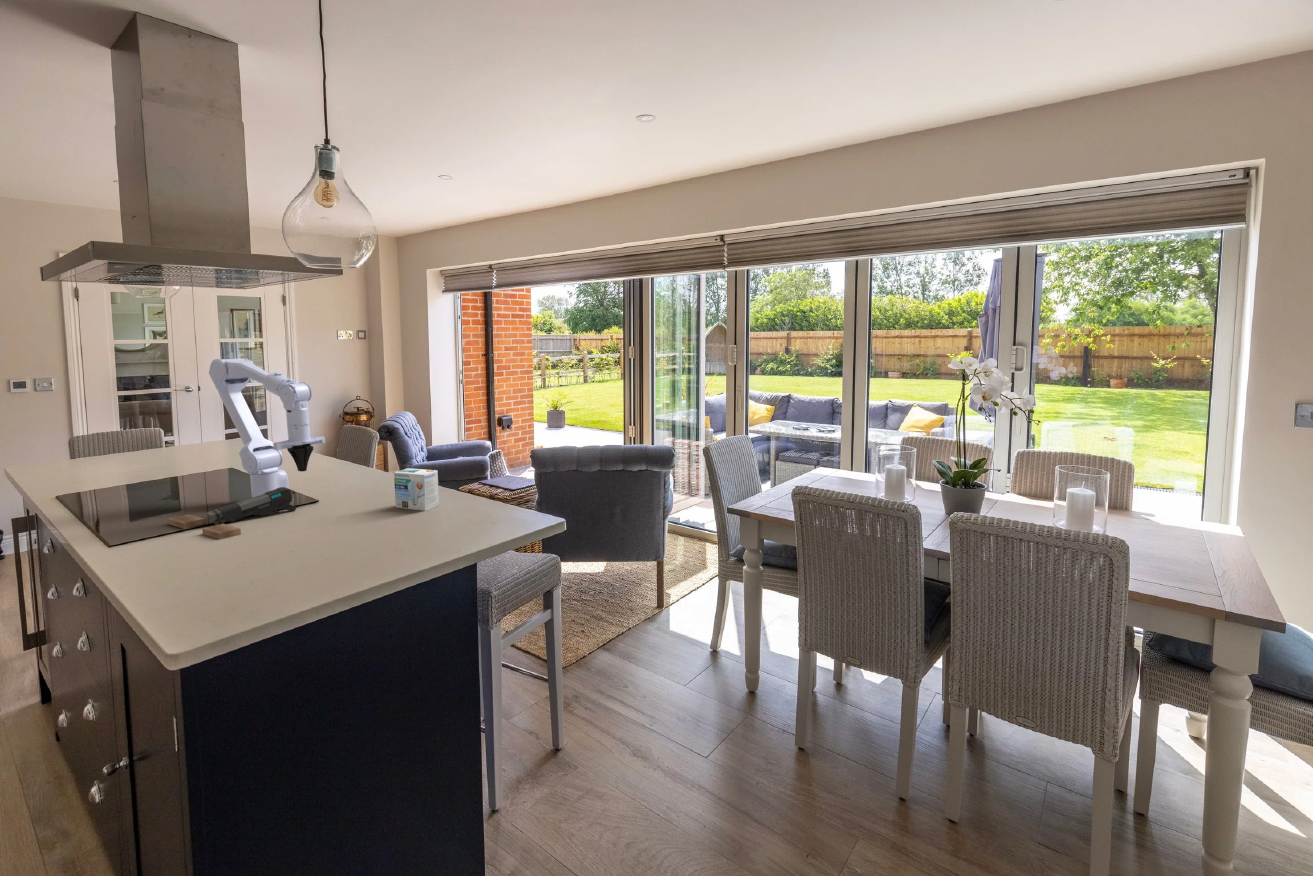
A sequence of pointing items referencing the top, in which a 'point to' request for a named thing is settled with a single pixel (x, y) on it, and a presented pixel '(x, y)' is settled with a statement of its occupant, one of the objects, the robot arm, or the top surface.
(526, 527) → the top surface
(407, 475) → the light bulb box
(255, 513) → the gun
